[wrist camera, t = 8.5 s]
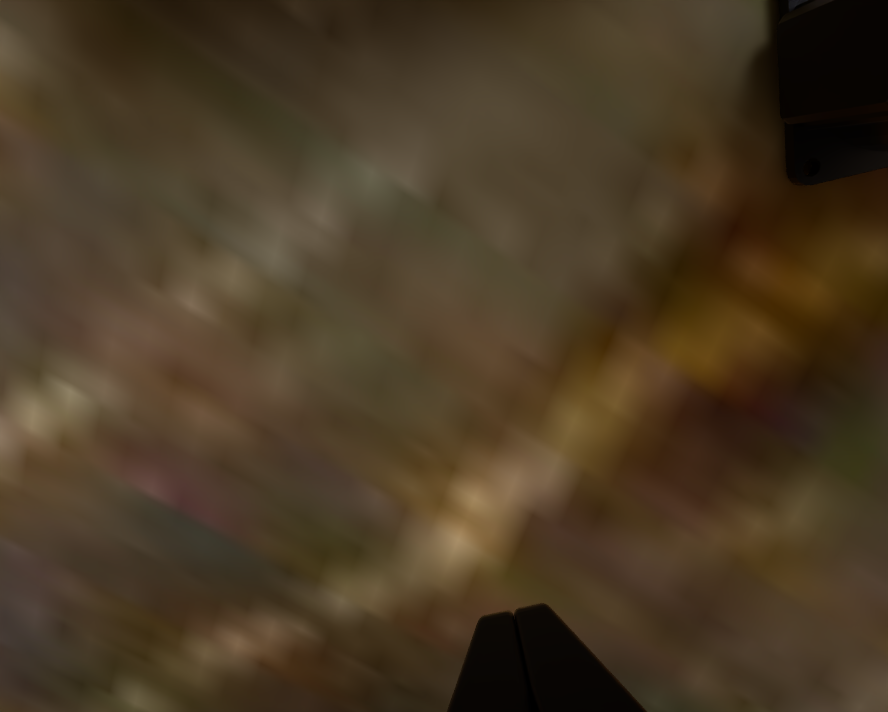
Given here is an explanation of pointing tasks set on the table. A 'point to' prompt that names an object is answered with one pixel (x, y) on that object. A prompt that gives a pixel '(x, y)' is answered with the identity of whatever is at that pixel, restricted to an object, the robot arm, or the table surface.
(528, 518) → the table surface
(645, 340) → the table surface
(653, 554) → the table surface
